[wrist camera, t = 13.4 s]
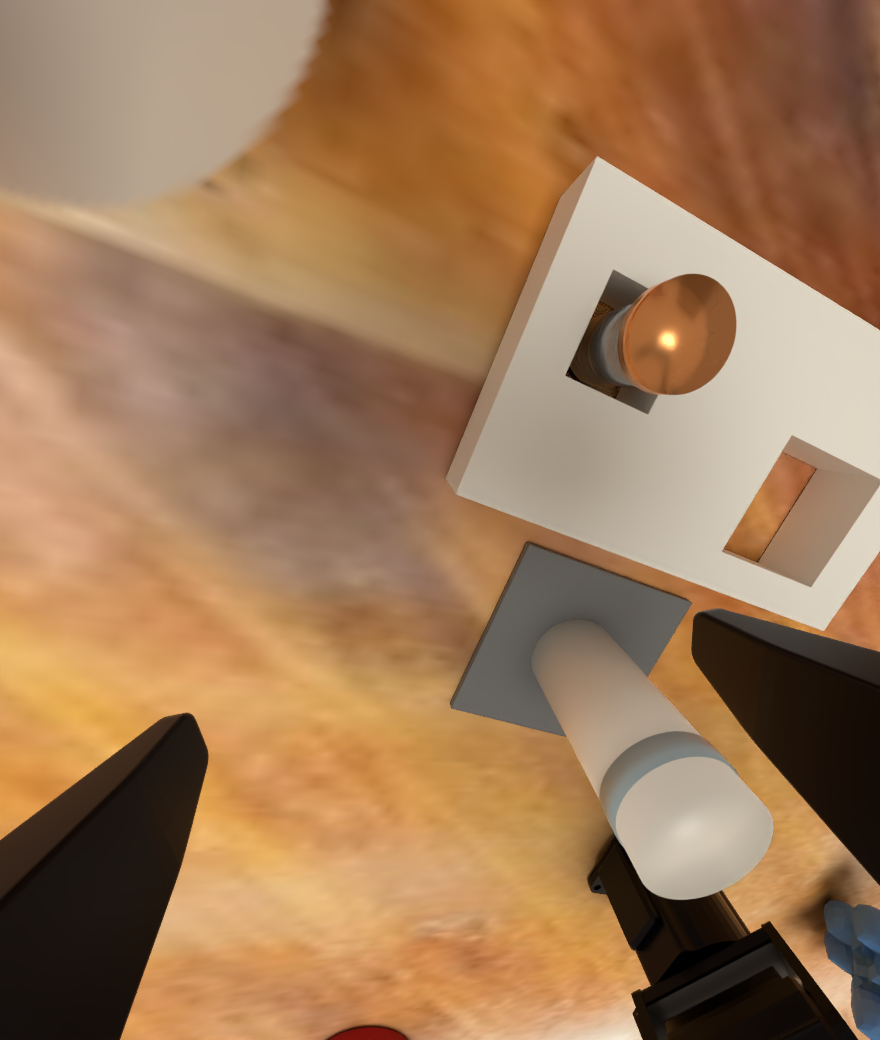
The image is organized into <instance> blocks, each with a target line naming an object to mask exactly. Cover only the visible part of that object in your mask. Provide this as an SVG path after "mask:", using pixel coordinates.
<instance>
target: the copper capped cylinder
mask: <svg viewBox="0 0 880 1040" xmlns="http://www.w3.org/2000/svg"><path fill="white" fill-rule="evenodd" d="M736 325H737V321H736V312H735V308H734V304H733V302H732V299H731V297H730V295H729V294H728V292H727V291H726V289H725V288H724V287H723V286H722V285H721V284H720V283H719V282H717V281H716V280H714V279H713V278H710V277H708V276H705V275H702V274H685V275H680V276H677V277H674V278H672V279H669V280H667V281H664V282H661V283H659V284H656V285H654V286H652V287H650V288H649V289H647V290H646V291H645V292H643V293H642V294H641V295H640V296H639V297H638V298H637V299H636V300H635V301H634V302H633V303H632V304H630V305H627V306H624V307H621V308H618V309H615V310H612V311H609V312H607V313H604V314H601V315H598V316H595V317H592V318H591V319H590V322H589V324H588V326H587V328H586V330H585V333H584V335H583V337H582V339H581V342H580V344H579V346H578V348H577V350H576V353H575V355H574V357H573V359H572V361H571V364H570V367H571V369H572V371H573V373H574V375H575V376H576V377H577V378H578V379H579V380H580V381H581V382H583V383H585V384H587V385H591V386H635V387H636V388H638V389H640V390H641V391H644V392H646V393H650V394H656V395H682V394H686V393H690V392H693V391H695V390H697V389H699V388H701V387H703V386H704V385H706V384H707V383H708V382H709V381H711V380H712V379H713V378H714V377H715V376H716V375H717V374H718V373H719V371H720V370H721V369H722V367H723V366H724V364H725V363H726V361H727V359H728V357H729V355H730V353H731V350H732V348H733V345H734V341H735V336H736Z"/></svg>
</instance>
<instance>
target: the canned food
mask: <svg viewBox="0 0 880 1040" xmlns="http://www.w3.org/2000/svg"><path fill="white" fill-rule="evenodd" d="M329 1040H406V1039H405V1038H404V1037H403V1036H402V1035H401V1034H399V1033H398V1032H396V1031H393V1030H391V1029H387V1028H382V1027H362V1028H355V1029H352V1030H348V1031H345V1032H342V1033H340V1034H338V1035H336V1036H334V1037H332V1038H331V1039H329Z"/></svg>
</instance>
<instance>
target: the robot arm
mask: <svg viewBox="0 0 880 1040" xmlns="http://www.w3.org/2000/svg"><path fill="white" fill-rule="evenodd" d="M691 650H692V656H693V659H694V661H695V663H696V664H697V666H698V667H699V669H700V670H701V671H702V673H703V674H704V675H705V677H706V678H707V679H708V681H709V682H710V684H711V685H712V686H713V688H714V689H715V690H716V692H717V693H718V694H719V696H720V697H721V699H722V700H723V701H724V703H725V704H726V705H727V707H728V708H729V709H730V711H731V712H732V713H733V715H734V716H735V718H736V719H737V720H738V722H739V723H740V724H741V726H742V727H743V728H744V730H745V731H746V732H747V733H748V735H749V736H750V737H751V739H752V740H753V741H754V742H755V744H756V745H757V746H758V747H759V748H760V749H761V751H762V752H763V753H764V754H765V755H766V756H767V758H768V759H769V760H770V761H771V762H772V763H773V764H774V766H775V767H776V768H777V769H778V770H779V771H780V772H781V774H782V775H783V776H784V777H785V778H786V779H787V780H788V782H789V783H790V784H791V785H792V786H793V787H794V788H795V790H796V791H797V792H798V793H799V794H800V795H801V796H802V798H803V799H804V800H805V801H806V802H807V803H808V804H809V806H810V807H811V808H812V809H813V810H814V811H815V812H816V814H817V815H818V816H819V817H820V818H821V819H822V820H823V822H824V823H825V824H826V825H827V826H828V827H829V828H830V830H831V831H832V832H833V833H834V834H835V835H836V836H837V838H838V839H839V840H840V841H841V842H842V843H843V844H844V846H845V847H846V848H847V849H848V850H849V851H850V852H851V854H852V855H853V856H854V857H855V858H856V859H857V860H858V862H859V863H860V864H861V865H862V866H863V867H864V868H865V870H866V871H867V872H868V873H869V874H870V875H871V876H872V877H873V879H874V880H875V881H876V882H877V883H878V884H879V885H880V652H879V651H875V650H871V649H867V648H864V647H860V646H856V645H853V644H849V643H845V642H842V641H838V640H834V639H831V638H827V637H823V636H820V635H816V634H812V633H809V632H805V631H801V630H797V629H794V628H790V627H786V626H783V625H779V624H775V623H772V622H768V621H764V620H761V619H757V618H753V617H750V616H746V615H742V614H739V613H735V612H731V611H727V610H724V609H711V610H706V611H701V612H698V613H697V614H696V615H695V616H694V619H693V632H692V648H691ZM207 765H208V749H207V746H206V744H205V741H204V739H203V736H202V734H201V732H200V729H199V727H198V724H197V722H196V719H195V718H194V716H193V715H192V714H190V713H182V714H177V715H172V716H167V717H164V718H162V719H160V720H159V721H157V722H156V723H155V724H154V725H152V726H151V727H150V728H148V729H147V730H146V731H144V732H143V733H142V734H140V735H139V736H138V737H136V738H135V739H134V740H132V741H131V742H130V743H128V744H127V745H126V746H124V747H123V748H122V749H120V750H119V751H118V752H116V753H115V754H114V755H112V756H111V757H110V758H108V759H107V760H106V761H104V762H103V763H102V764H100V765H99V766H98V767H97V768H95V769H94V770H93V771H91V772H90V773H89V774H87V775H86V776H85V777H83V778H82V779H81V780H79V781H78V782H77V783H75V784H74V785H73V786H71V787H70V788H69V789H67V790H66V791H65V792H63V793H62V794H61V795H59V796H58V797H57V798H55V799H54V800H53V801H51V802H50V803H49V804H47V805H46V806H45V807H44V808H42V809H41V810H40V811H38V812H37V813H36V814H34V815H33V816H32V817H30V818H29V819H28V820H26V821H25V822H24V823H22V824H21V825H20V826H18V827H17V828H16V829H14V830H13V831H12V832H10V833H9V834H8V835H6V836H5V837H4V838H2V839H1V840H0V1040H120V1038H121V1035H122V1032H123V1030H124V1027H125V1024H126V1021H127V1018H128V1016H129V1013H130V1010H131V1007H132V1004H133V1001H134V999H135V996H136V993H137V990H138V987H139V985H140V982H141V979H142V976H143V973H144V970H145V968H146V965H147V962H148V959H149V956H150V954H151V951H152V948H153V945H154V942H155V940H156V937H157V934H158V931H159V928H160V925H161V923H162V920H163V917H164V914H165V911H166V909H167V906H168V903H169V900H170V897H171V894H172V892H173V889H174V886H175V883H176V880H177V877H178V874H179V871H180V868H181V865H182V861H183V858H184V854H185V851H186V847H187V843H188V839H189V835H190V832H191V828H192V824H193V820H194V816H195V812H196V808H197V804H198V801H199V797H200V793H201V789H202V785H203V781H204V777H205V773H206V770H207ZM588 885H589V887H590V890H591V891H592V892H594V893H599V894H606V895H607V896H608V898H609V900H610V903H611V905H612V907H613V910H614V912H615V914H616V916H617V919H618V921H619V923H620V926H621V928H622V930H623V932H624V935H625V937H626V939H627V942H628V944H629V946H630V948H631V949H632V950H634V951H636V953H637V955H638V958H639V960H640V962H641V964H642V967H643V969H644V971H645V974H646V976H647V978H648V980H649V983H650V985H651V986H650V987H648V988H646V989H644V990H642V991H641V990H640V989H638V990H637V991H635V992H633V993H631V995H632V998H633V1001H634V1004H635V1006H636V1008H635V1010H634V1012H633V1016H634V1019H635V1021H636V1024H637V1026H638V1029H639V1031H640V1034H641V1037H642V1039H643V1040H858V1039H857V1037H856V1036H855V1034H854V1033H853V1032H852V1030H851V1029H850V1028H849V1026H848V1025H847V1023H846V1022H845V1021H844V1019H843V1018H842V1017H841V1015H840V1014H839V1013H838V1011H837V1010H836V1009H835V1007H834V1006H833V1005H832V1003H831V1002H830V1001H829V999H828V998H827V997H826V995H825V994H824V993H823V991H822V990H821V989H820V987H819V986H818V985H817V983H816V982H815V981H814V979H813V978H812V977H811V975H810V974H809V973H808V971H807V970H806V969H805V967H804V966H803V965H802V963H801V962H800V961H799V959H798V958H797V957H796V955H795V954H794V953H793V951H792V950H791V949H790V947H789V946H788V945H787V944H786V942H785V941H784V940H783V938H782V937H781V936H780V934H779V933H778V932H777V930H776V929H775V928H774V926H773V925H772V924H771V922H770V921H768V922H766V923H764V924H762V925H761V927H762V928H760V929H758V930H756V931H755V932H753V933H750V931H749V930H748V928H747V927H746V925H745V924H744V922H743V921H742V919H741V918H740V916H739V915H738V913H737V912H736V910H735V909H734V907H733V906H732V904H731V903H730V901H729V900H728V898H727V897H726V895H725V894H724V892H723V891H722V890H721V891H719V892H716V893H714V894H711V895H708V896H705V897H700V898H696V899H688V900H675V899H668V898H664V897H661V896H658V895H656V894H654V893H652V892H651V891H650V890H648V889H647V888H646V887H645V885H644V884H643V883H642V881H641V879H640V877H639V875H638V873H637V872H636V870H635V868H634V866H633V864H632V862H631V860H630V858H629V856H628V854H627V852H626V850H625V848H624V847H623V846H622V845H621V844H620V843H619V841H618V839H617V837H616V839H615V840H614V842H613V844H612V845H611V847H610V848H609V850H608V851H607V853H606V854H605V856H604V857H603V859H602V860H601V862H600V863H599V865H598V866H597V868H596V869H595V871H594V872H593V874H592V876H591V877H590V879H589V880H588Z"/></svg>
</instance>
